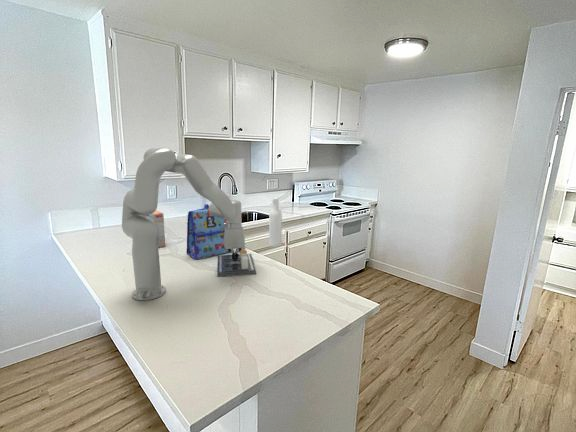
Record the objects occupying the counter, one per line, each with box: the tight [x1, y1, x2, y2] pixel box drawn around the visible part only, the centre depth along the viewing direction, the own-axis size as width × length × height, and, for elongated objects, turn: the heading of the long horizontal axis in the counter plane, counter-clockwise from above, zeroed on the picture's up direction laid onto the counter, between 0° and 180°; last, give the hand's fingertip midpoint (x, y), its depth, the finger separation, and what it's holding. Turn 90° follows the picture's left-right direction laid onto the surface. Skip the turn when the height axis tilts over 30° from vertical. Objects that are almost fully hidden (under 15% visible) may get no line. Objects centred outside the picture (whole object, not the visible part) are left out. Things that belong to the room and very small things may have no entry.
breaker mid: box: [240, 249, 248, 257], centre depth 154 cm, size 4×3×6 cm
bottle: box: [268, 196, 283, 248], centre depth 186 cm, size 8×8×30 cm
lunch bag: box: [185, 203, 231, 261], centre depth 171 cm, size 22×14×29 cm, turn 129°
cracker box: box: [147, 209, 166, 249], centre depth 186 cm, size 14×6×21 cm, turn 41°
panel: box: [216, 253, 257, 278], centre depth 154 cm, size 24×18×2 cm
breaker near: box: [241, 256, 248, 269], centre depth 147 cm, size 4×3×5 cm
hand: (235, 260), depth 154 cm, fingers closed
